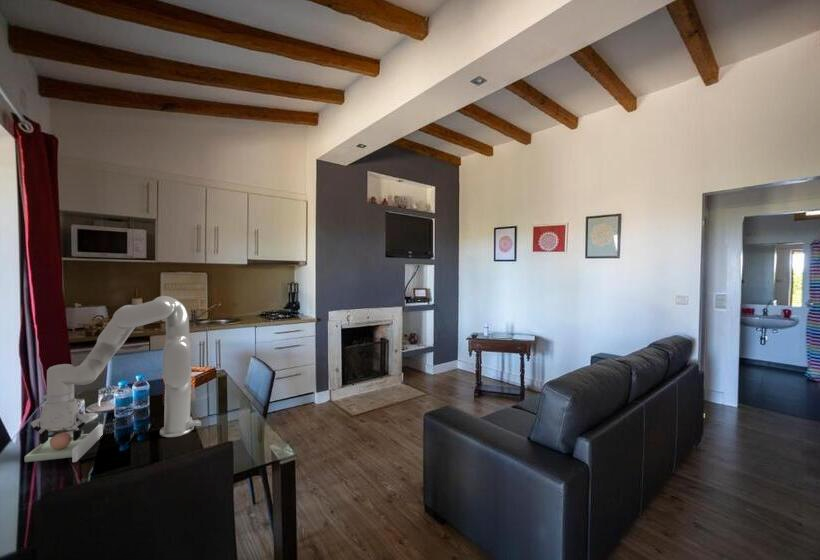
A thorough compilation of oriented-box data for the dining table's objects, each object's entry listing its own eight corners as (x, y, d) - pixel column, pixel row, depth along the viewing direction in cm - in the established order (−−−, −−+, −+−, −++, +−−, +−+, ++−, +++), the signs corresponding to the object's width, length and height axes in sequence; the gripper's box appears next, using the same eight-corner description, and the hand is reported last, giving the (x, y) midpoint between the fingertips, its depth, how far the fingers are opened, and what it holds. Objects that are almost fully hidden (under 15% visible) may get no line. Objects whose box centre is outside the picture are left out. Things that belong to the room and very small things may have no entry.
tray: (92, 438, 146) (92, 433, 146) (73, 457, 132) (73, 451, 132) (48, 442, 141) (48, 437, 141) (24, 462, 128) (24, 456, 128)
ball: (66, 451, 135) (66, 435, 135) (46, 453, 133) (46, 437, 133) (75, 443, 140) (75, 428, 140) (55, 445, 138) (55, 430, 138)
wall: (102, 435, 148) (102, 424, 148) (76, 461, 130) (76, 448, 129) (99, 436, 148) (99, 424, 148) (72, 462, 129) (72, 449, 129)
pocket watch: (69, 440, 143) (69, 416, 143) (53, 437, 145) (53, 413, 144) (91, 431, 151) (91, 408, 151) (76, 428, 153) (76, 405, 152)
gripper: (24, 403, 129) (24, 448, 130) (83, 399, 135) (83, 442, 136) (38, 395, 136) (38, 438, 137) (93, 392, 142) (93, 433, 143)
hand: (60, 440), depth 136 cm, fingers open, 9 cm apart
